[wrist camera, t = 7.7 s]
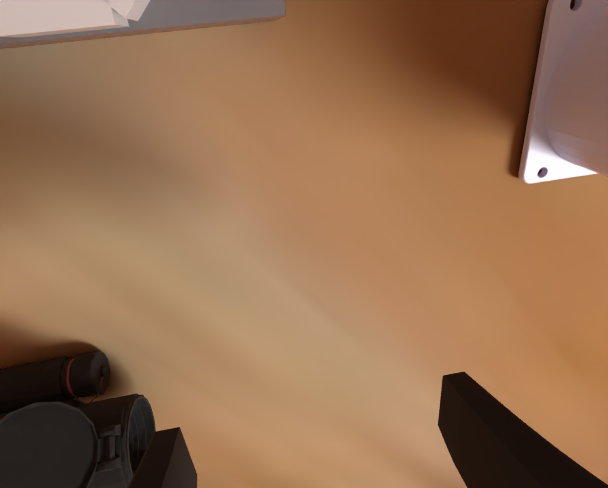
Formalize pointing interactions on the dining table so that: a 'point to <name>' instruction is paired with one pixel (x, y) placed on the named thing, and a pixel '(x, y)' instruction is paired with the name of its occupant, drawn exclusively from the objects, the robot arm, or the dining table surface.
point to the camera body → (121, 18)
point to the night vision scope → (69, 426)
